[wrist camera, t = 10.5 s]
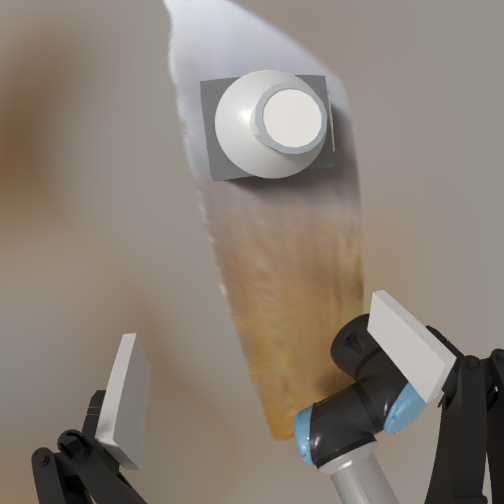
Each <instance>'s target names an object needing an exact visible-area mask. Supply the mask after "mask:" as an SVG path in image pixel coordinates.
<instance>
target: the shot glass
mask: <svg viewBox="0 0 504 504" xmlns="http://www.w3.org/2000/svg"><path fill="white" fill-rule="evenodd" d="M249 127H250V130H251V133H252V135H253V136H254V137H255V138H256V140H257V141H258V142H260V143H262V144H264V145H266V146H268V147H270V148H273V149H275V150H277V151H280V152H282V153H288V154H300V153H303V152H306V151H310V150H311V149H312V148H314V147H315V146H316V145H317V144H318V143H319V142H321V140H322V138H323V136H324V134H325V132H326V130H327V113H326V110H325V107H324V104H323V102H322V101H321V99H320V98H319V97H318V96H317V94H316V93H315V92H314V91H312V90H311V89H309V88H307V87H306V86H304V85H302V84H298V83H291V82H285V83H281V84H277V85H273V86H272V87H271V88H269V89H268V90H267V91H265V92H264V93H263V94H262V95H261V97H260V99H259V100H258V102H257V103H256V105H255V107H254V108H253V110H252V112H251V114H250V116H249Z"/></svg>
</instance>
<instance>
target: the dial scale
mask: <svg viewBox="0 0 504 504" xmlns="http://www.w3.org/2000/svg"><path fill="white" fill-rule="evenodd" d="M285 82H291V83H298V84H302V85H304V86H306V87H307V88H309V89H311V90H312V91H314V92H315V93H316V94H317V96H318V97H319V98H320V99H321V101H322V102H323V104H324V107H325V110H326V113H327V130H326V132H325V134H324V136H323V138H322V140H321V142H319V143H318V144H317V145H316V146H315V147H314V148H312V149H311V150H310V151H306V152H303V153H300V154H288V153H282V152H280V151H277V150H275V149H273V148H270V147H268V146H266V145H264V144H262V143H260V142H258V141H257V140H256V138H255V137H254V136H253V135H252V133H251V130H250V127H249V116H250V114H251V112H252V110H253V108H254V107H255V105H256V103H257V102H258V100H259V99H260V97H261V95H262V94H263V93H264V92H265V91H267V90H268V89H269V88H271V87H272V86H273V85H277V84H281V83H285ZM200 90H201V103H202V111H203V119H204V127H205V134H206V142H207V149H208V157H209V164H210V171H211V176H212V179H213V182H215V181H222V180H228V179H235V178H242V177H249V176H258V177H263V178H283V177H288V176H291V175H294V174H296V173H298V172H300V171H302V170H311V169H322V168H334V156H333V152H335V146H334V134H333V120H332V114H331V105H330V97H329V91H327V87H326V80H325V76H316V75H292V74H290V73H287V72H283V71H278V70H260V71H255V72H252V73H249V74H246V75H244V76H243V77H236V78H226V79H217V80H209V81H202V82H200Z"/></svg>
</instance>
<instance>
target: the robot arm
mask: <svg viewBox="0 0 504 504" xmlns="http://www.w3.org/2000/svg"><path fill="white" fill-rule="evenodd" d="M331 357H332V359H333V361H334V362H335V364H336V365H337V367H338V368H340V369H341V370H343V371H344V372H345V373H347V374H348V375H349V376H351V377H352V378H354V380H355V381H356V382H355V383H354V384H352V385H350V386H348V387H346V388H345V389H343V390H341V391H339V392H337V393H335V394H333V395H331V396H329V397H327V398H325V399H323V400H321V401H319V402H317V403H313V404H312V405H311V406H309V407H308V408H306V409H304V410H302V411H300V412H298V413H297V414H296V416H295V418H294V433H295V438H296V442H297V446H298V449H299V451H300V453H301V455H302V458H303V460H304V462H305V463H306V464H307V465H309V466H314V465H316V467H317V469H318V471H319V472H322V473H325V474H328V475H329V476H330V477H331V480H332V482H333V484H334V486H335V489H336V491H337V493H338V495H339V497H340V499H341V502H342V504H400V503H399V501H398V499H397V498H396V496H395V494H394V492H393V490H392V488H391V486H390V484H389V482H388V480H387V478H386V476H385V474H384V473H383V470H382V468H381V467H380V465H379V463H378V461H377V459H376V457H375V455H374V452H375V449H376V447H377V444H378V443H377V440H376V439H375V437H374V435H376V434H377V433H379V432H381V431H382V430H385V432H387V433H389V434H394V433H396V432H397V431H398V432H399V431H401V430H402V429H404V428H405V427H406V426H408V425H409V424H411V423H412V422H413V421H414V420H415V419H416V418H417V417H418V416H419V415H420V414H421V413H422V412H423V410H424V409H425V408H426V406H427V404H428V403H429V402H430V401H432V400H433V399H435V398H437V397H438V394H439V393H440V391H441V389H442V391H443V392H444V395H443V397H442V399H441V401H440V402H439V404H438V408H439V407H440V405H441V404H442V413H441V423H440V431H439V438H438V445H437V451H436V457H435V462H434V467H433V472H432V476H431V481H430V485H429V489H428V493H427V496H426V500H425V503H424V504H487V503H488V500H487V497H486V496H484V495H483V494H482V489H483V481H484V473H485V463H486V451H487V457H488V464H489V471H490V479H491V491H492V504H504V350H503V349H495V350H493V351H492V353H491V355H490V357H489V358H486V359H481V360H480V359H479V358H477V357H475V356H472V355H467V356H464V355H463V354H462V353H461V352H460V351H459V350H458V349H457V348H456V347H455V346H453V345H452V344H451V343H450V342H449V341H447V339H446V338H445V337H444V336H442V334H441V333H440V332H439V331H438V330H436V329H434V328H432V327H430V326H426V327H424V326H423V325H422V324H421V323H420V322H419V321H418V320H417V319H416V318H415V317H414V316H412V315H411V314H410V313H409V312H408V311H407V310H406V309H405V308H404V307H403V306H401V305H400V304H399V303H398V302H397V301H396V300H395V299H394V298H393V297H391V296H390V295H389V294H388V293H387V292H385V290H380V291H376V292H373V295H372V303H371V310H370V313H369V314H364V315H361V316H359V317H357V318H355V319H353V320H352V321H350V322H349V323H348V324H347V325H345V326H344V327H343V328H342V329H341V330H340V332H339V333H338V334H337V336H336V337H335V339H334V341H333V343H332V346H331ZM151 371H152V370H151V368H150V365H149V363H148V360H147V358H146V356H145V353H144V351H143V348H142V346H141V343H140V341H139V338H138V335H137V333H132V334H124V335H123V338H122V341H121V344H120V347H119V350H118V353H117V357H116V360H115V363H114V366H113V369H112V373H111V376H110V380H109V383H108V387H107V390H97V391H96V393H95V394H94V395H93V396H92V398H91V401H90V404H89V408H88V411H87V416H86V418H85V422H84V426H83V429H82V433H81V432H80V431H77V430H67V431H65V432H63V433H62V434H61V435H60V437H59V438H58V443H57V445H58V449H59V450H60V451H61V452H59V453H53V452H52V451H51V450H50V449H48V448H45V447H44V448H39V449H37V450H36V451H35V452H34V453H33V455H32V461H31V462H32V469H33V475H34V480H35V485H36V490H37V495H38V499H39V503H40V504H93V502H92V499H91V497H90V495H91V496H92V498H93V499H94V500H95V502H96V503H97V504H147V503H146V502H145V501H144V500H143V498H142V497H141V496H140V495H139V494H138V493H137V492H136V491H135V489H134V488H133V487H132V486H131V485H130V483H129V482H128V481H127V480H126V479H125V477H124V476H123V475H122V474H121V473H120V472H119V465H121V466H122V467H123V468H124V469H129V470H141V462H142V449H143V437H144V427H145V416H146V409H147V400H148V392H149V385H150V378H151ZM496 386H497V389H498V391H496V390H495V387H496ZM89 493H90V494H89Z"/></svg>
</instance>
